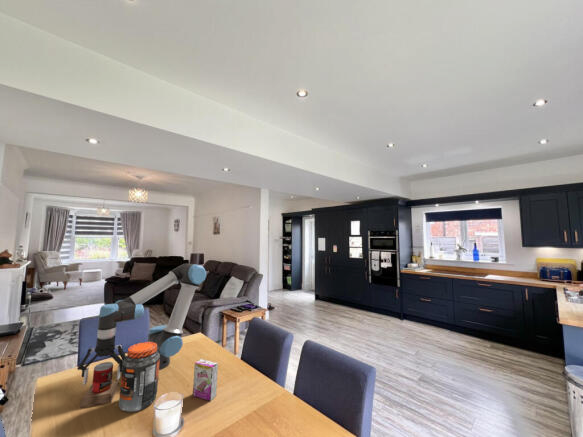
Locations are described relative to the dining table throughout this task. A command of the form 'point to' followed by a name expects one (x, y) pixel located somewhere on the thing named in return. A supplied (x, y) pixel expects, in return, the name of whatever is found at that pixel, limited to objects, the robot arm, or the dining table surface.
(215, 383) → the candy bar box
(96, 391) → the canned food
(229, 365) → the dining table surface
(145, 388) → the supplement tub
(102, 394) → the plinth
